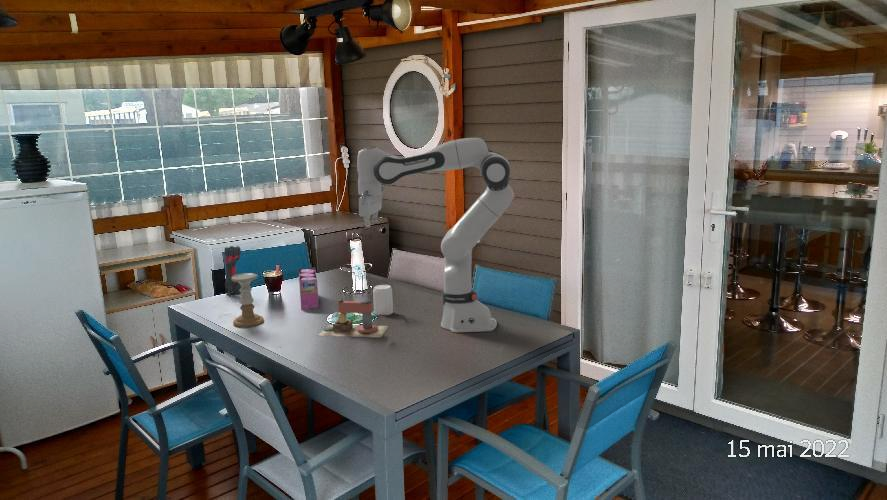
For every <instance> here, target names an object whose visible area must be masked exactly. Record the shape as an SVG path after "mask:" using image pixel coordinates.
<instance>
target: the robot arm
mask: <svg viewBox="0 0 887 500" xmlns="http://www.w3.org/2000/svg"><path fill="white" fill-rule="evenodd" d="M356 162H357V165H356V170H357V174H358V178H357V179H358V180H357V190H358V195H360V197H359V198H358V215H359V217H360V218H363V221H364V227H365V228H370V227H372V226H371V223H372V224H376V223H378V215H379V211H380V210H381V209H382V207H383V192H384V185H392V184H394V183H396V182H397V181H399V180H400V179H401V178H403V177H406V176H411V175H414V174H420V173H424V172H427V171H429V172H431V171H456V170H463V169H467V168H477V169H478V170H479V171H480V175H481V177H482V179H483V182H484V183H485V184H486V186H487V187H486V188H485V190H484V192H482V194H481V195H480V196H479V197H478V198H477V199H476V200H475V201H474V203H473V204H472V205H471V206H470V207H469V208H468V209H467V210H466V211H465V212H464V214H463V215H462V216H461V217H460V219H458V221H457V222H456V223H455V224H454V225H453V226H452V227H451V228H450V229H448V230H447V232H446V233H445V235H444V237H443V238H442V239H441V243H440V250H441V251H440V252H441V253H442V255H443V258H444V259H443V271H442V272H443V275H442V277H443V291H442V305H443V310H442V318H441V322H440V326H441V328H443V329H445V330H448V331H451V332H452V333H474V332H478V333H479V332H492V331H494V330H495V329H496V328H497V325H498V321H497V320H496V318H494V317H492V314H491V310H490V309H489V307H488V306H487V305H485V304H483V303H482V302H481V301H479V300H478V295H477V290H475V291H474V290H473V289H472V262H473V261H472V260H473V259H472V257H473V255H472V254H473V248H474V247H476V245H477V244H478V243H479V241H480V240H481V239H482V238H483V237H484V236H485V234H486V233H487V232H488V231H489V230H490V229H491V227H492V226H493V225H494V224H495V223H496V222H497V221H498V220H499V219H500V218H501V217H502V216H503V214H504V213H505V212H506V210H507V209H508V208H509V206H510V205H511V204H512V202H513V201H514V198H515V193H514V190H513V188H512V186H511V185H510V184H509V180H510V177H511V165H510V162H509V160H508V159H507V158H506V157H505V155H503V154H501V153H499V152H496V151H492V150H490V149H489V148H488V145H487V143H486V142H485V140H484V139H483V138H481V137H465V138H459V139H453V140H449V141H446V142H444V143H441V144H439V145H437V146H435V147H433V148H432V149H431V150H428V151H427V152H424V153H422V154H418V155H417V154H416V155H413V156H409V157H403V158H401V157H400V156H398V155H395V154H391V153H388V152H385V151H383V150H381V148H379V147H378V146H370V147H365V148H362V149H361V150H359V151H358V153H357V161H356ZM381 211H382V210H381ZM371 217H372V218H371ZM370 218H371V221H370Z"/></svg>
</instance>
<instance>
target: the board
mask: <svg viewBox="0 0 887 500" xmlns="http://www.w3.org/2000/svg"><path fill="white" fill-rule="evenodd" d="M362 325H363V324H361V325H359V324H353V328H352V329H351V330H350V331H349V332H348V333H340V332H333V331H324V330H322V331H320V332H319V333H318V335H317V336H321V337H324V336H325V337H326V336H327V337H355V338H357V337H358V338H359V337H360V338H382V336H383V335H384V334H385V332H386V331H387V329H388V328H389V327H390V325H377V326H378V330H377V331H376V332H373V333H360V332H358V331H357V328H358V327H359V326H362ZM326 327H333V324H331V323H330V324H328V325H327V326H326Z"/></svg>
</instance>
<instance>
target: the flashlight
mask: <svg viewBox="0 0 887 500" xmlns="http://www.w3.org/2000/svg"><path fill="white" fill-rule="evenodd" d="M241 255H242V252H241V247H240V246H239V245H237V246H234V245H233V246H229V247H227V246H225V248H224V259H225V262H224V263H225V271H226V281H225V282H224V286H225V294H226V295H230V296H231V295H233V294H235V295H239V294H241V292H240V291H239V290H240V288H241V285H240V284H239V283H238V282H235V281H232V280H231V277H232V276H234V275H237V267H236V266H237V262H239V260H240V259H241Z"/></svg>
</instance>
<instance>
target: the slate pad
mask: <svg viewBox="0 0 887 500" xmlns="http://www.w3.org/2000/svg"><path fill="white" fill-rule="evenodd" d="M323 330H324V331H333V327H327V326H325V327H324V328H323ZM323 330H322V331H323Z"/></svg>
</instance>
